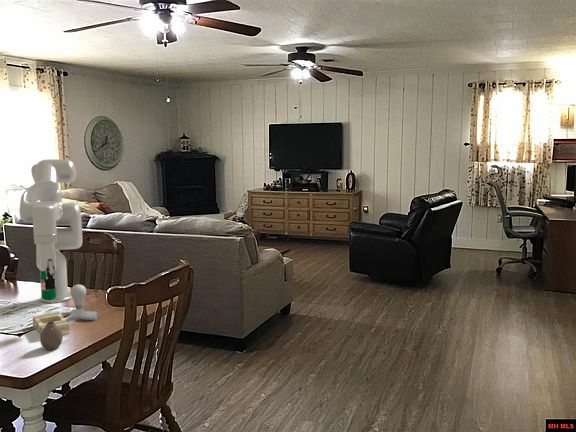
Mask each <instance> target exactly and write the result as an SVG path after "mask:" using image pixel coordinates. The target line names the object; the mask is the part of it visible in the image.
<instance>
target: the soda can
mask: <svg viewBox="0 0 576 432" xmlns="http://www.w3.org/2000/svg"><path fill="white" fill-rule="evenodd" d="M53 267H54V266H53ZM46 270H49V269H46ZM48 273H49V272H47V275H48ZM39 277H40V280H39V281H40V294H41V297H42V299H43V300H52V299H55V298H56V297H57V293H56V275H55V270H54V278H55V289H50V290H46V289H45V279H46V277H45V271H44V272H42V271H41V270H40V269H39ZM41 297H40V298H41Z"/></svg>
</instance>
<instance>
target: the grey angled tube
mask: <svg viewBox="0 0 576 432" xmlns="http://www.w3.org/2000/svg"><path fill="white" fill-rule="evenodd" d="M65 320H66V321H67V322H68V323H69V326H71V325H72V324H74V322H77V321H78V320H85V321H86V320H87V321H97V320H98V311H90V310H89V311H88V310H85V309H84V308H82V309H77V310H76V309H73V310H69V315H67V316H66V317H65Z"/></svg>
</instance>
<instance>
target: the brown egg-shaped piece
mask: <svg viewBox="0 0 576 432" xmlns="http://www.w3.org/2000/svg"><path fill="white" fill-rule="evenodd" d="M63 336H64V335H62V332H61V330H60V328H59V327H58V326H56V324H55V323H54V322H48V323H47V324H46V326H45V328H44V329H43V330H42V332H41V335H39V341H40V345H41V347H42V348H43V349H44V350H47V351H54V350H56V349H58V348H60V346H61V345H62V343H63Z"/></svg>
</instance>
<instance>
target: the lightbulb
mask: <svg viewBox="0 0 576 432" xmlns="http://www.w3.org/2000/svg"><path fill="white" fill-rule="evenodd" d="M69 293H70V294H71V296H72V298H71V299H73V302H74V305H75V310H77V309H84V307H83V305H84V298H85V296H86V295H87V288H86V287H85V286H84V285H83V284H75V285H73V286H72V287H71V289H70V292H69Z"/></svg>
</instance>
